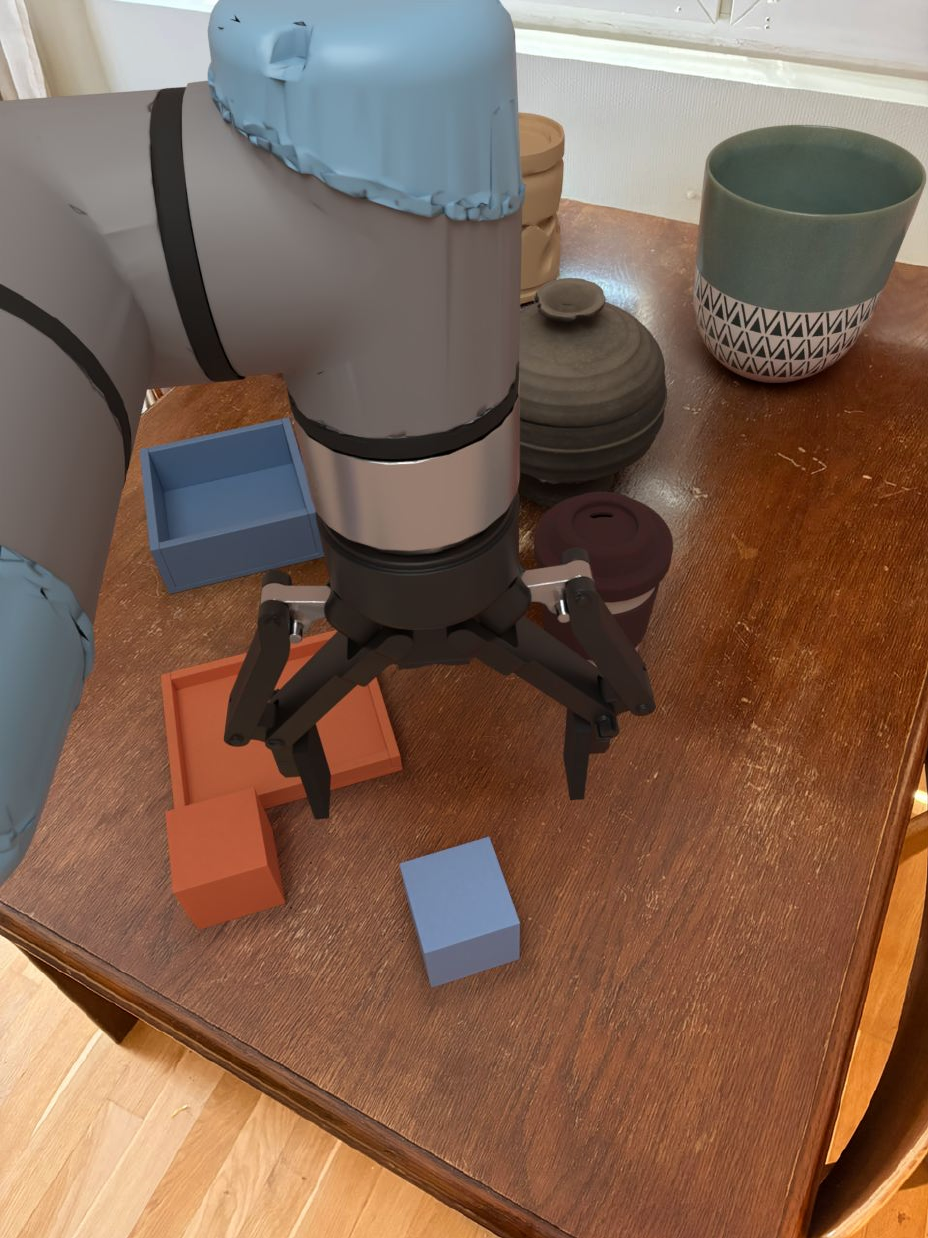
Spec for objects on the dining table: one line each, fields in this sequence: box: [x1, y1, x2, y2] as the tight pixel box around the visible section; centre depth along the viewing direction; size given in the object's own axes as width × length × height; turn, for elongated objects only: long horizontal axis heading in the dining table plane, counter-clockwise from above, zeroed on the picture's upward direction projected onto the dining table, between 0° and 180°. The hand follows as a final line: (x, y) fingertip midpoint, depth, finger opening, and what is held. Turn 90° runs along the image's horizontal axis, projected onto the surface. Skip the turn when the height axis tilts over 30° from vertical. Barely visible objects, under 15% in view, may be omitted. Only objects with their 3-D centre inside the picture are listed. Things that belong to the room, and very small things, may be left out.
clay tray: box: [160, 629, 404, 810], centre depth 70 cm, size 17×14×2 cm
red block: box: [164, 787, 286, 931], centre depth 61 cm, size 6×6×6 cm
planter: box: [692, 124, 927, 384], centre depth 92 cm, size 20×20×21 cm
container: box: [518, 111, 566, 305], centre depth 107 cm, size 13×13×18 cm
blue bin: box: [139, 416, 325, 595], centre depth 85 cm, size 15×15×6 cm
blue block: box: [398, 836, 521, 989], centre depth 57 cm, size 6×6×6 cm
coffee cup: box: [533, 491, 674, 668], centre depth 69 cm, size 10×10×15 cm
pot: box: [518, 277, 668, 509], centre depth 82 cm, size 18×18×20 cm
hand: (448, 787), depth 49 cm, fingers open, 13 cm apart
